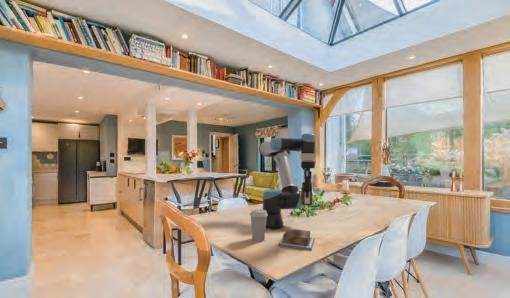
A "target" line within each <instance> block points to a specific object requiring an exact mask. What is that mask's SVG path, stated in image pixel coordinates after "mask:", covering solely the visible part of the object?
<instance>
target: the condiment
mask: <svg viewBox="0 0 510 298" xmlns="http://www.w3.org/2000/svg"><path fill="white" fill-rule="evenodd" d="M304 189H305V181H304V182H301V188H300V191H301V203H298V204H302V206H309V207H312V206H318V205H319V204H317V203H313V187H312V182H311V183H310V204H305V192H304V191H303V190H304Z"/></svg>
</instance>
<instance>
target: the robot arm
mask: <svg viewBox="0 0 510 298" xmlns="http://www.w3.org/2000/svg"><path fill="white" fill-rule="evenodd" d="M300 137H301V138H292V137H291V138H288V137H287V138H285V137H284V138H283V137H272V138H271V140H270V141H263V142H261V143H260V144H259V146H258V152H259V154H261V155H262V156H263V157H268V158H273V160H274V161H275V162H276V165H277V170H278V173H279V177H280V178H279V179H280V182H281V186H282V187H281V188H269V189H266V190H264V191H263V193H262V210H266V212H267V214H268V216H267V220H266V229H265V230H280V229H282V228H284V220H283V217H282V210H297V209H298V210H299V209H301V208H302V207H303V205H302V204H298V203H301V190H299V186H297V185H295V180H294V176H293V172H292V170H291V169H292V168H291V165H290V162H289V159H290V156H291V152H298V153H299V152H300V153H301V154H300V160H301V162H300V163H301V164H300V167H301V168H302V169H305V170H304V172H303V174H304V176H303V177H304V182H305V189H304V190H303V191H304V192H305V204H310V183H312V182H311V179H312V173H313V172H312V171H311V169H315V167H316V163H315V158H316V157H317V155H316V136H315V134H314V133H302V134H301V136H300Z"/></svg>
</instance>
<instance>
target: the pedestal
mask: <svg viewBox="0 0 510 298" xmlns="http://www.w3.org/2000/svg"><path fill="white" fill-rule="evenodd" d="M310 237H311V231H310V230H306V229H299V228H298V229H297V228H287V229H286V230H285V232H284V233H283V236H282V238H283V243H287V244H294V245H302V246H308V244H309V241H310Z"/></svg>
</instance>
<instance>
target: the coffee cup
mask: <svg viewBox="0 0 510 298" xmlns="http://www.w3.org/2000/svg"><path fill="white" fill-rule="evenodd" d="M249 216H250V223H251V224H250V226H251V241H254V242H256V243H257V242H259V243H261V242H264V241H265V239H266V238H265V237H266V230H267V229H266V220H267V216H268V214H267V212H266V210H263V209H259V208H258V209H251V211H250V213H249Z"/></svg>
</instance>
